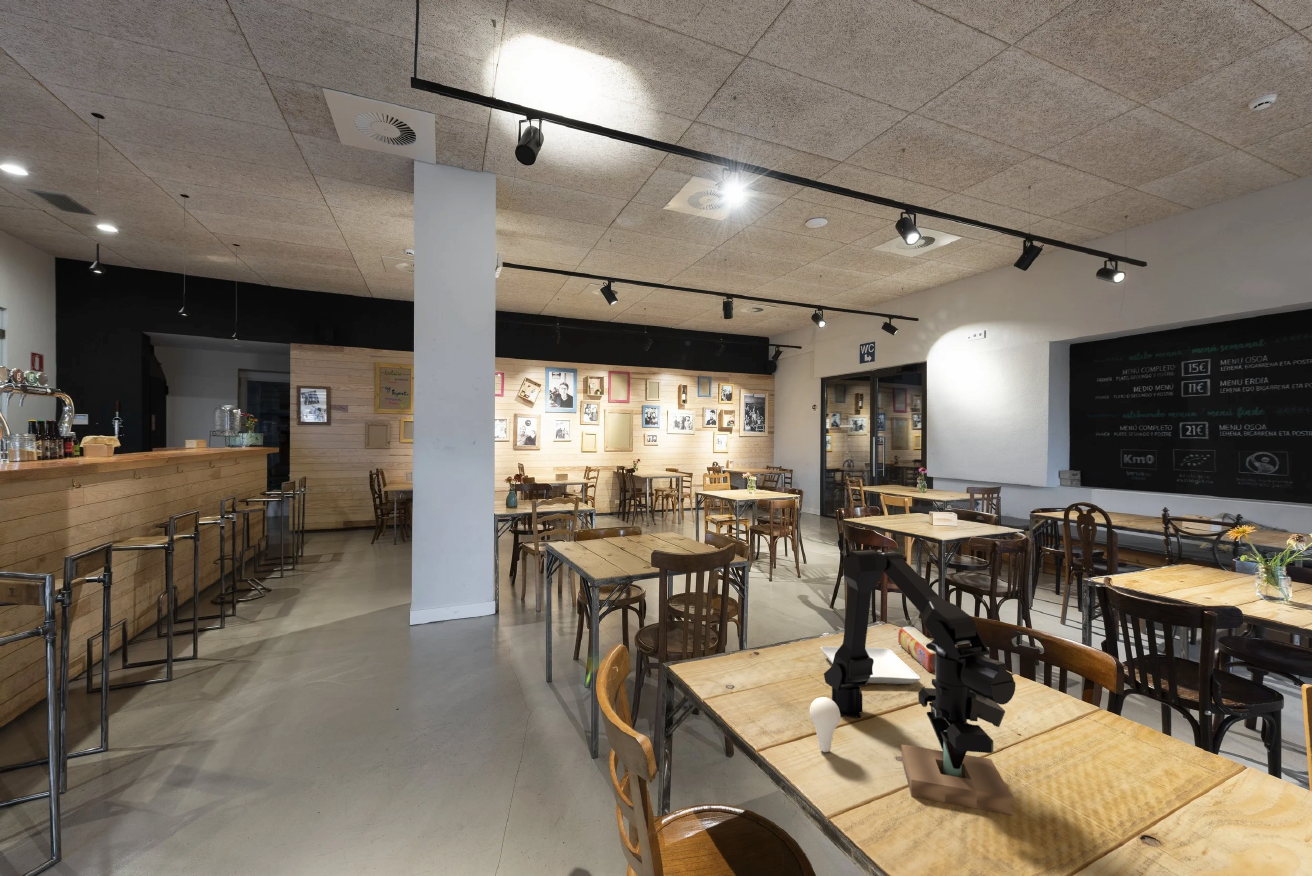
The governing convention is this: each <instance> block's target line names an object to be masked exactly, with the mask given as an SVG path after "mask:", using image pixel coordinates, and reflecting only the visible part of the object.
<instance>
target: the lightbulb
mask: <svg viewBox="0 0 1312 876" xmlns="http://www.w3.org/2000/svg"><path fill="white" fill-rule="evenodd" d="M809 716H810V719H811V721H812V724H813V725H814V728H815V731H816V739H817V747H818V749H819V750H820V751H821V752H823V753H827V752H830V751H831V749H832V741H833V738H834V737H833V736H834V732H835V731H836V730H835V729H836V728H837V726H838V725H839V723H840V720H841V715H840V711H839V708H838V706H837V705H836V703H835V702H834V701H832V698H829V697H826V696H821V697H820V696H819V697H817V698H815V699H814V700H813V701H812V702H811V704H810V706H809Z"/></svg>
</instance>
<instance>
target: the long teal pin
mask: <svg viewBox="0 0 1312 876" xmlns="http://www.w3.org/2000/svg"><path fill="white" fill-rule="evenodd" d="M944 731H947V730H944ZM942 751H943V775H949V776H955V777H961V778H962V764H961V767H960V769H954V768H953V766H952V764H951V761H950V758H949V755H948V752H947V749H946V746H945V743H944V741H943V750H942Z"/></svg>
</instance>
